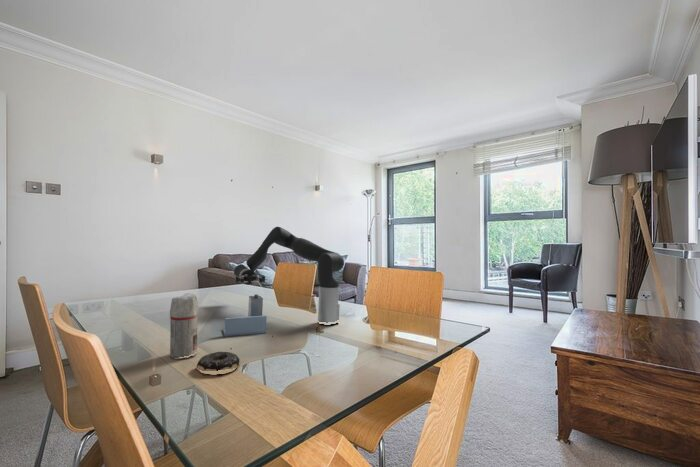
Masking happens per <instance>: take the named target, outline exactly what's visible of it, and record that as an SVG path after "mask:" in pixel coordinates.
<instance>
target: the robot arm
mask: <svg viewBox="0 0 700 467" xmlns="http://www.w3.org/2000/svg"><path fill="white" fill-rule="evenodd" d="M273 244H277V246H281V247H283V248H286V249H289V250H291V251H292V252H293V253H294V254H296V255H297V256H298V257H300V258H302V259H305V260H308V261H312V262H317V280H318V284H319V285H318V305H317V306H318V309H317V310H318V311H317V322H318V321H319V322H326V323H328V322H335V321H337V320H339V321H340V306H341V305H340V303H339V288H340V287H339V286H340V283H339V281H338V280H337V279H335V278H334V277H333V276H334V275H333V273H337V272H340V271H341V270H342V269H343V267H344V265H345V261H344V258H343V256H342V255H341V254H339V253H338V252H334V251H332V250H330V249H326V248H323V247H322V246H320V245H318V244H316V243H314V242H312V241H310V240H308V239H306V238H303V237H297V236H295V235H294V234H292V233H291V232H290V231H289V230H287V229H285V228H282V227H280V226H275V227H273V228H272V230H270V231H269V233H268V235H267V236H266V237H265V238H264V240H263V241H262V243H261V244H260V246H259V247H258V248H257V250H256V251H255V252H253V254H252V255H251V256H250V257H249V258H248V259H247V260H246V261H245V262H246V266H245V264H242V263H241V264H237V265H236V266H235V267H234V270H233V274H234V275H235V279H234V280H235V283H238V282H239V283H241V284H244V285H247V286H249V285H252V284H254V283H260V284H261V283H265V282H266V276H264V275H263V274H262V275H260V276H259V274H256V273H255V271H256V270H257V269H258V268H259V267H260V266H261V265H262V264H263V263H264V262H265V260H266V258H267V255H268V250H269V249H270V247H271V246H273Z"/></svg>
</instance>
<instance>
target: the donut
mask: <svg viewBox="0 0 700 467" xmlns="http://www.w3.org/2000/svg"><path fill="white" fill-rule="evenodd" d="M240 360H241V359H240V358H239V356H238V355H237V354H235V353H233V352H228V351H216V352H211V353H209V354H205V355H203V356H201V357H200V359H199V360H198V362H197V364H196V367H197V368H198V369H199V370H202V371H218V370H225V369H233V368H237V369H239V366H240ZM197 368H196V369H197ZM198 369H197V370H198Z"/></svg>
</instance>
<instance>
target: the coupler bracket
mask: <svg viewBox="0 0 700 467" xmlns="http://www.w3.org/2000/svg"><path fill="white" fill-rule="evenodd" d="M267 319H268V318H267V315H262V316H252V317H248V316H240V317H238V316H237V317H225V318H224V327H222V333H223V336H224V337H233V336H243V335H245V336H246V335H253V334H255V335H257V334H266V333H267Z"/></svg>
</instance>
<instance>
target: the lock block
mask: <svg viewBox="0 0 700 467" xmlns="http://www.w3.org/2000/svg"><path fill="white" fill-rule="evenodd" d="M263 301H264V298H263V297H262V296H261V295H259V294H257V293H256V294H253V295H252V296H251V295H250V296H248V312H247V314H248V315H247V317H252V316H263V308H264V307H263V306H264V304H263V303H264V302H263Z"/></svg>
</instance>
